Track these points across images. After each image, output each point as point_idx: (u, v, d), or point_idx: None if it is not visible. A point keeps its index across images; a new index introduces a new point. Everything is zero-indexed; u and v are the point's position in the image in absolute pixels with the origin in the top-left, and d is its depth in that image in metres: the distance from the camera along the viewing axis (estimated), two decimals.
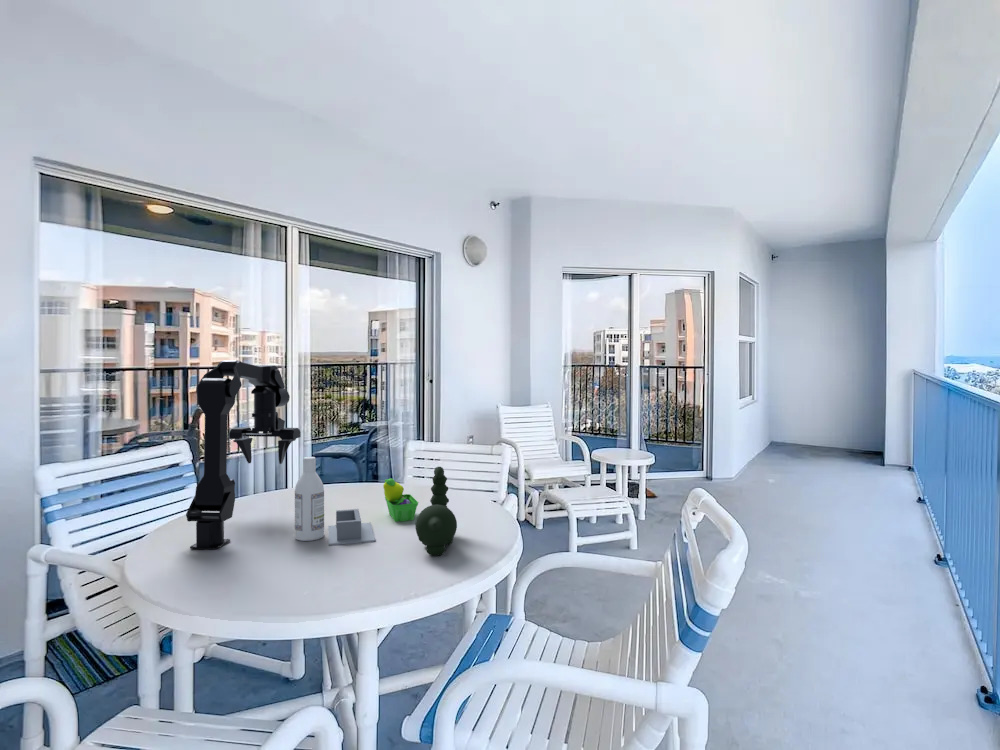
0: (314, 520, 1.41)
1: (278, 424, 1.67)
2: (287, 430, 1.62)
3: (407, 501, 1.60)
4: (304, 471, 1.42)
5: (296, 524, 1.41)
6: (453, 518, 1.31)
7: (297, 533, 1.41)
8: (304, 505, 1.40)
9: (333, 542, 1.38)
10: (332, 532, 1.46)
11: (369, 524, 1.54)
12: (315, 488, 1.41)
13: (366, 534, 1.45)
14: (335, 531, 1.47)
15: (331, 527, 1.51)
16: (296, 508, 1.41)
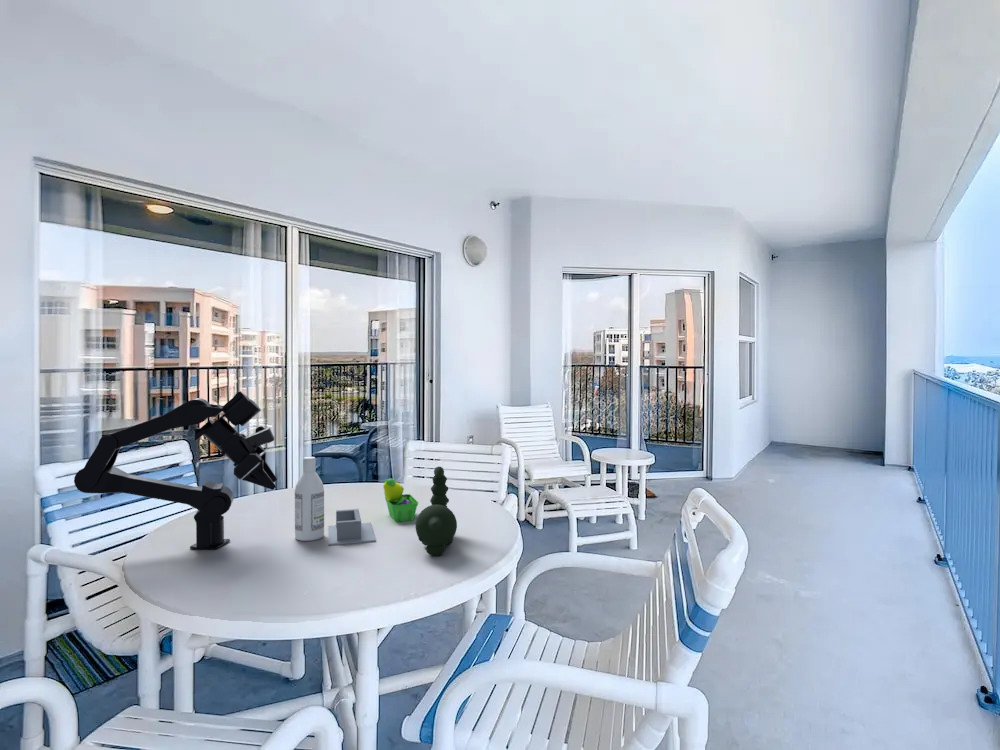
0: (314, 520, 1.41)
1: (249, 447, 1.37)
2: None
3: (407, 501, 1.60)
4: (304, 471, 1.42)
5: (296, 524, 1.41)
6: (453, 518, 1.31)
7: (297, 533, 1.41)
8: (304, 505, 1.40)
9: (333, 542, 1.38)
10: (332, 532, 1.46)
11: (369, 524, 1.54)
12: (315, 488, 1.41)
13: (366, 534, 1.45)
14: (335, 531, 1.47)
15: (331, 527, 1.51)
16: (296, 508, 1.41)
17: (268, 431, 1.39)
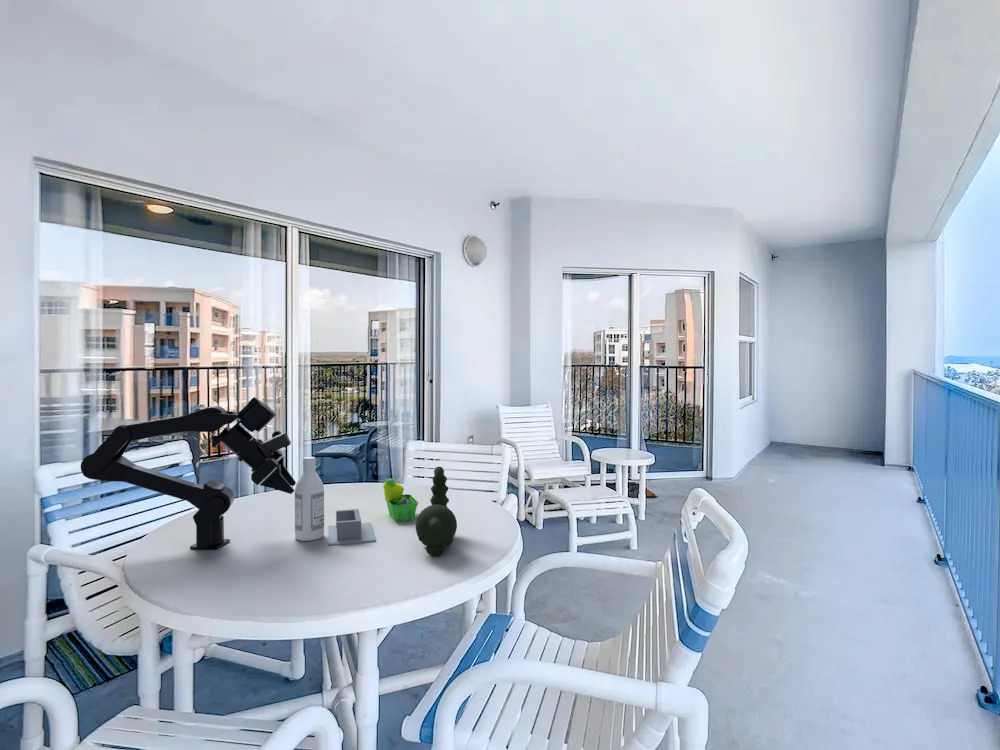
0: (314, 520, 1.41)
1: (265, 453, 1.38)
2: None
3: (407, 501, 1.60)
4: (304, 471, 1.42)
5: (296, 524, 1.41)
6: (453, 518, 1.31)
7: (297, 533, 1.41)
8: (304, 505, 1.40)
9: (333, 542, 1.38)
10: (332, 532, 1.46)
11: (369, 524, 1.54)
12: (315, 488, 1.41)
13: (366, 534, 1.45)
14: (335, 531, 1.47)
15: (331, 527, 1.51)
16: (296, 508, 1.41)
17: (284, 436, 1.39)
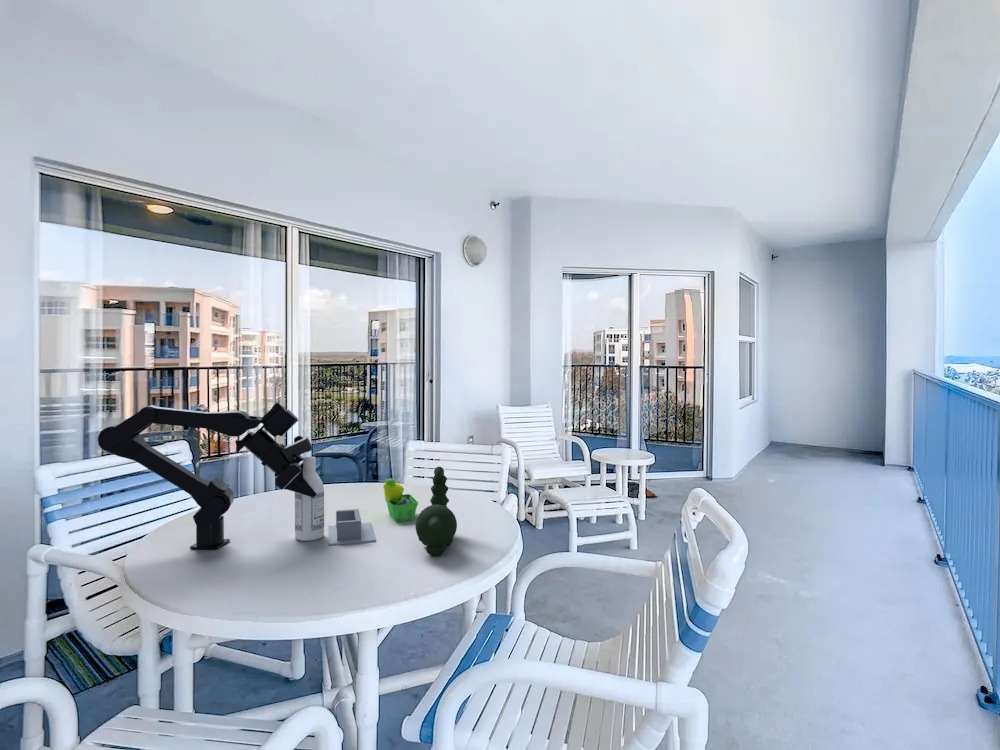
0: (314, 520, 1.41)
1: (288, 457, 1.39)
2: None
3: (407, 501, 1.60)
4: (304, 471, 1.42)
5: (296, 524, 1.41)
6: (453, 518, 1.31)
7: (297, 533, 1.41)
8: (304, 505, 1.40)
9: (333, 542, 1.38)
10: (332, 532, 1.46)
11: (369, 524, 1.54)
12: (315, 488, 1.41)
13: (366, 534, 1.45)
14: (335, 531, 1.47)
15: (331, 527, 1.51)
16: (296, 508, 1.41)
17: (306, 440, 1.41)
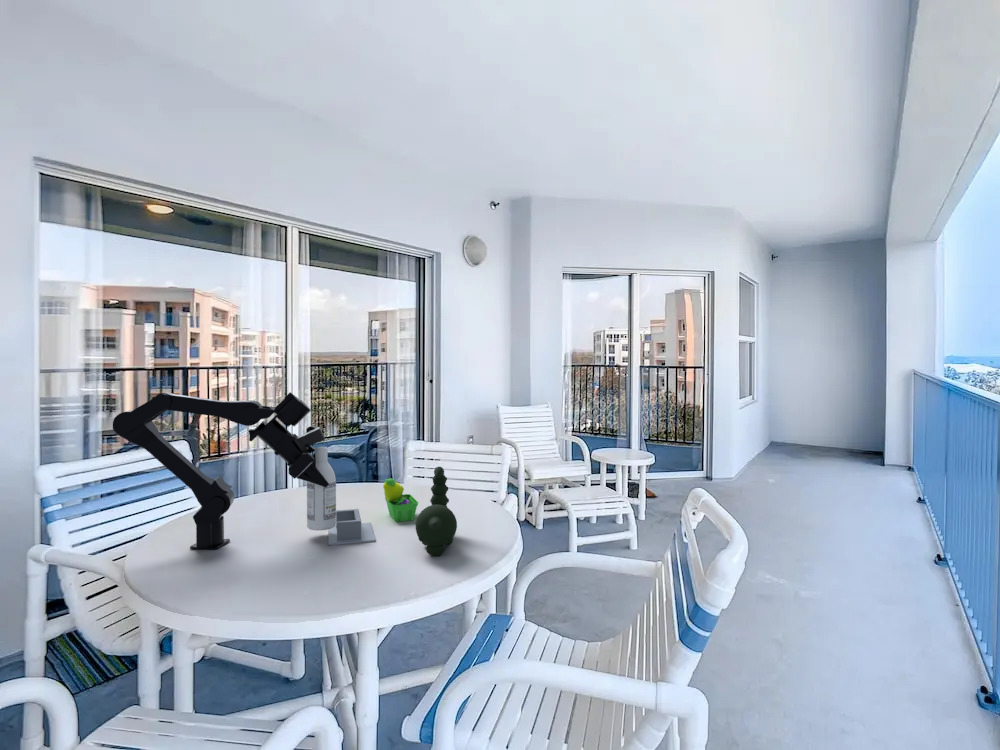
0: (326, 509, 1.42)
1: (301, 447, 1.40)
2: None
3: (407, 501, 1.60)
4: (316, 461, 1.43)
5: (308, 514, 1.42)
6: (453, 518, 1.31)
7: (309, 523, 1.42)
8: (316, 494, 1.41)
9: (333, 542, 1.38)
10: (332, 532, 1.46)
11: (369, 524, 1.54)
12: (327, 478, 1.42)
13: (366, 534, 1.45)
14: (335, 531, 1.47)
15: None
16: (308, 498, 1.42)
17: (319, 430, 1.42)
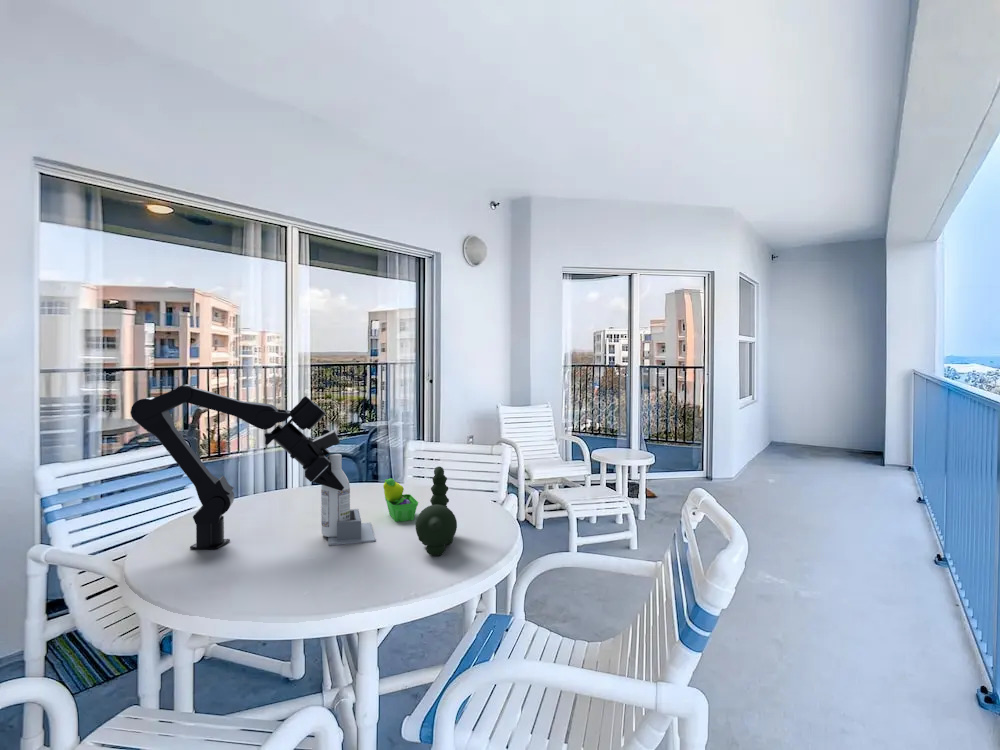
0: (340, 516, 1.43)
1: (316, 450, 1.41)
2: (305, 471, 1.36)
3: (407, 501, 1.60)
4: None
5: (323, 520, 1.43)
6: (453, 518, 1.31)
7: (324, 530, 1.43)
8: (330, 501, 1.42)
9: (333, 542, 1.38)
10: None
11: (369, 524, 1.54)
12: None
13: (366, 534, 1.45)
14: None
15: None
16: (323, 504, 1.43)
17: (334, 434, 1.43)
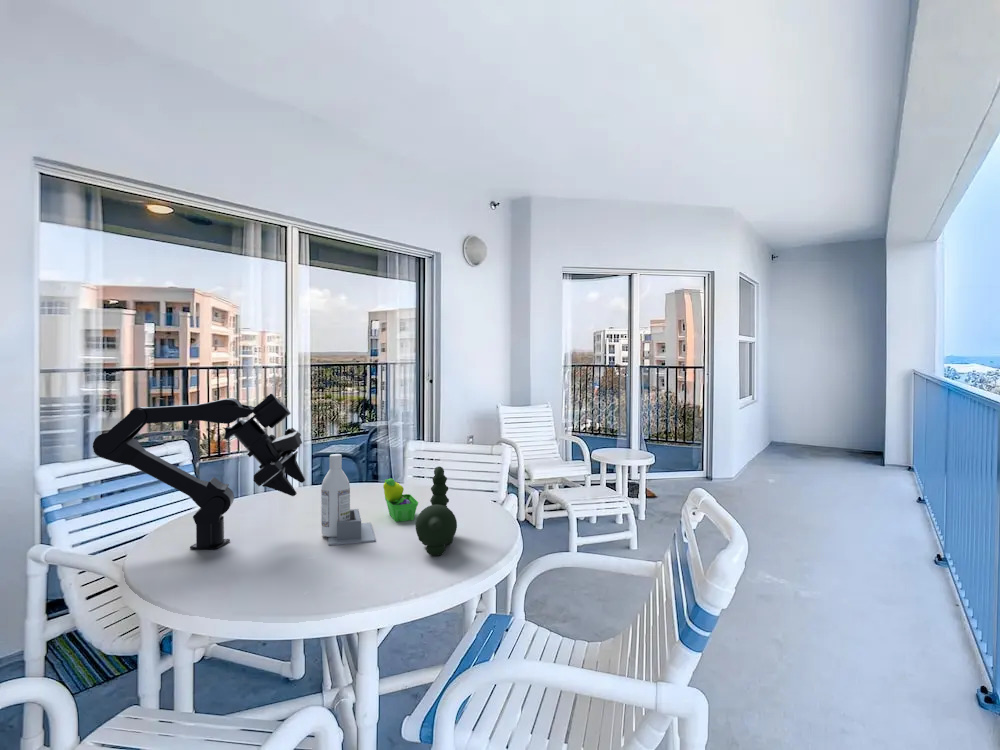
0: (340, 516, 1.43)
1: (273, 452, 1.38)
2: None
3: (407, 501, 1.60)
4: (330, 468, 1.44)
5: (323, 520, 1.43)
6: (453, 518, 1.31)
7: (324, 530, 1.43)
8: (330, 501, 1.42)
9: (333, 542, 1.38)
10: None
11: (369, 524, 1.54)
12: (341, 485, 1.43)
13: (366, 534, 1.45)
14: None
15: None
16: (323, 504, 1.43)
17: (293, 438, 1.38)
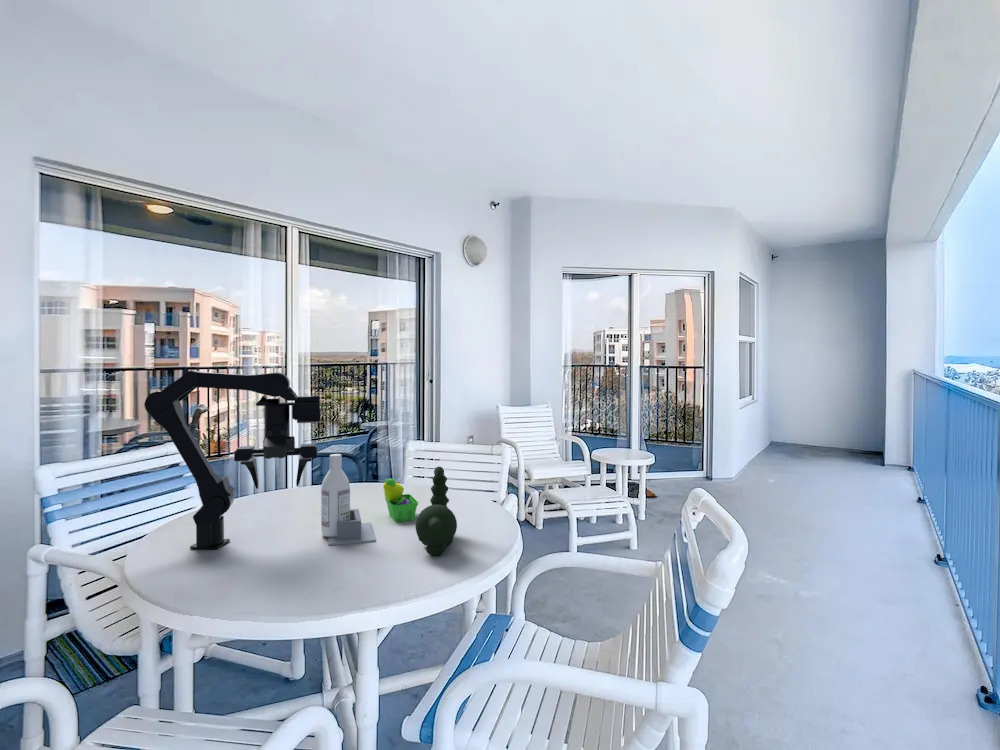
0: (340, 516, 1.43)
1: None
2: None
3: (407, 501, 1.60)
4: (330, 468, 1.44)
5: (323, 520, 1.43)
6: (453, 518, 1.31)
7: (324, 530, 1.43)
8: (330, 501, 1.42)
9: (333, 542, 1.38)
10: None
11: (369, 524, 1.54)
12: (341, 485, 1.43)
13: (366, 534, 1.45)
14: None
15: None
16: (323, 504, 1.43)
17: (264, 448, 1.33)
